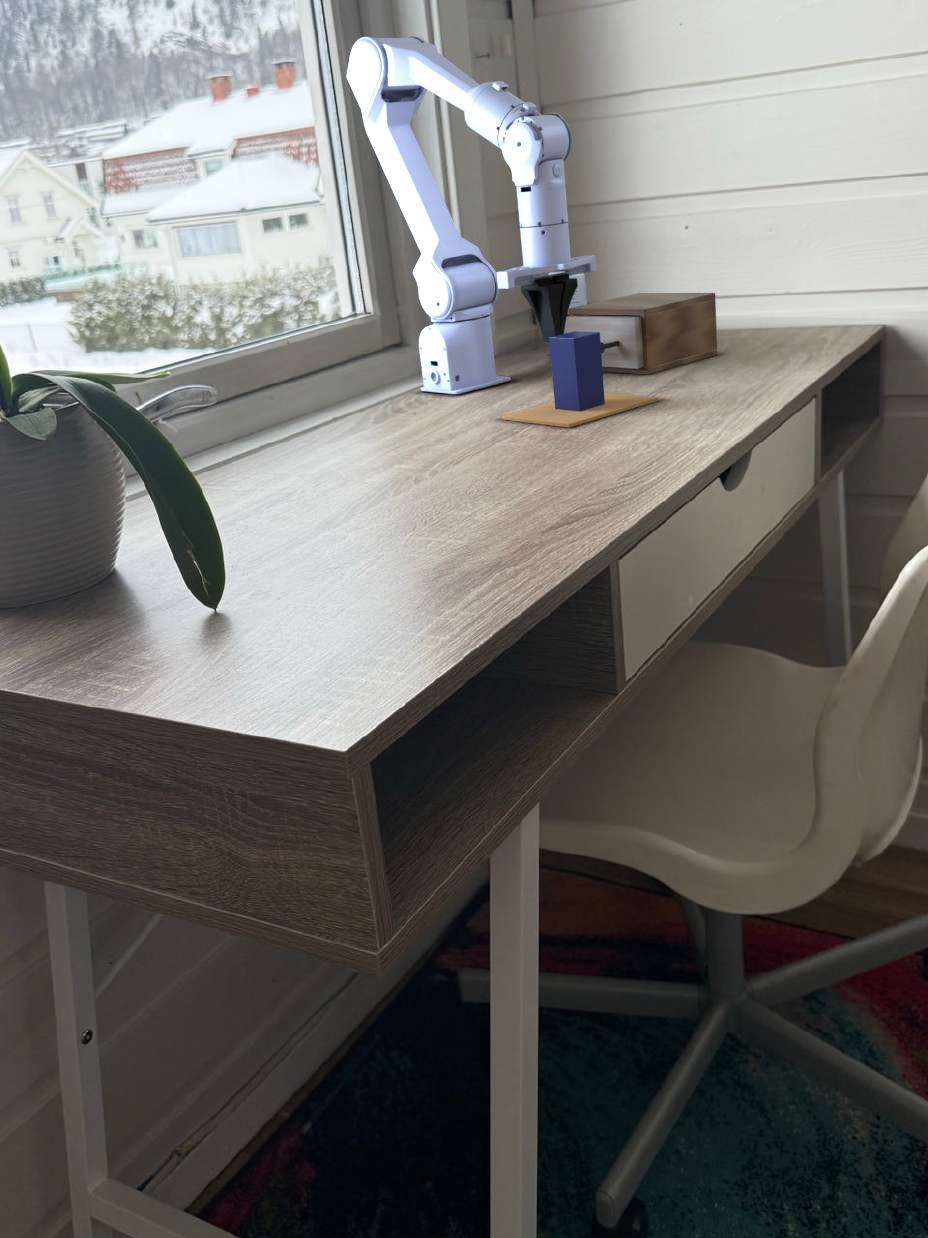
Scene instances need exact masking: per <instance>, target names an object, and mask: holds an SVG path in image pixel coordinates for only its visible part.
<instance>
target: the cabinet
mask: <svg viewBox="0 0 928 1238" xmlns="http://www.w3.org/2000/svg"><path fill="white" fill-rule="evenodd" d="M716 303H717V302H716V292H637V293H633V294H632V293H631V294H628V295H623V296H619V297H614V298H610V299H605V300H601V301H597V302H591V303H587V305H582V306H578V307H573V308H569V314H570V315H569V316H583V315H631V316H640V317H641V324H642V341H643V358H644V367H643V368H639V369H633V368H617V367H602V370H603V372H605V373H606V372H609V373H621V374H623V373H624V374H638V375H651V374H654V373H658V372H661V371H665V370H668V369H673V368H677V367H680V366H682V365H683V366H684V365H687V364H690V363H694V362H698V361H701V360H704V359H708V358H711V357H716V356H718V335H717V334H718V333H717V332H718V330H717V304H716Z"/></svg>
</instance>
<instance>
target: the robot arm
mask: <svg viewBox="0 0 928 1238" xmlns="http://www.w3.org/2000/svg"><path fill="white" fill-rule="evenodd" d="M346 79H347V81H348V83H349V86H350V88H351V90H352V92H353V95H354V97H355V99H356V101H357V103H358V106H359V108H360V110H361V116H362V121H363V126H364V129H365V132H366V135H367V137H368V139H369V143H370V144H371V146H372V149H373V150H374V153H375V155H376V157H377V159H378V162H379V164H380V166H381V168H382V170H383V173H384V175H385V177H386V179H387V181H388V183H389V186H390V188H391V190H392V193H393V194H394V197H395V199H396V201H397V203H398V206H399V208H400V210H401V212H402V214H403V217H404V219H405V221H406V224H407V226H408V227H409V230H410V232H411V234H412V236H413V238H414V242H415V243H416V246H417V248H418V250H419V253H420V256H419V258H418V260H417V262H416V264H415V266H414V268H413V270H412V275H413V277H414V279H415V281H416V284H417V290H418V291H417V292H418V299H419V302H420V305H421V307H422V309H423V310H424V312H425V314H426V315H428V316H429V317H430V322H431V323H433V324H430V325H427V326H426V327H424V328H423V329H422V330H421V331H420V334H419V337H418V351H419V358H420V368H421V374H422V381H423V382H422V383H423V386H421V387H420V391H421V392H429V393H437V394H438V393H440V394H448V395H461V394H464V393H469V392H472V391H476V390H480V389H484V388H487V387H491V386H496V385H499V384H503V383H506V382H511V381H512V379H511V377H510V376H501V375H500V376H499V375H497V371H496V361H495V351H494V341H493V333H492V323H491V315H490V314H492V313H494V307H493V306H494V305H495V304H496V302H497V300H498V299H499V295H500V290H505V289H507V290H510V289H515V288H516V287H520V293H521V294H522V295H523V297H524V298H525V300H526V301H527V303H528V304H529V307H530V308H531V310H532V312H533V314H534V316H535V318H536V321H537V324H538V326H539V329H540V332H541V335H542V339H543V341H544V343H549V337H553V336H557V335H561V334H564V329H565V323H566V318H567V313H568V309H569V306H570V303H571V300H572V297H573V295H574V293H575V291H576V289H577V287H578V282H577V278H569V276H572V275H577V274H582V273H583V274H586V273H588V274H589V273H590V274H591V273H596V272H597V257H596V255H594V254H593V255H581V256H575V257H572V256H571V244H570V243H571V241H570V231H569V215H568V202H567V190H566V175H565V164H564V163H565V162H566V161H567V160H568V158H569V156H570V154H571V151H572V148H573V134H572V130H571V128H570V126H569V123H568V122H567V121H566V120H565V118H563V117H562V116H561V115H560V113H558V112H546V113H544V114H543V113H542V114H541V113H540V111H538V110H537V105H536V104H534V103H533V102H531V101H527V102H525V101H523V100H522V99H520V98H519V97H517V96H516V95H514V94H513V93H511V92H510V91H509V87H510V85H509V84H507V83H506V82H504V81H503V80H499V81H498V80H497V81H485V82H483V83H481V84H480V83H479V82H477V81H475V80H474V78H471V77H470V76H469V75H468V74H467V73H465V72H464V71H463V70H462V69H460V68H459V67H458V66H457V65H455V64H454V63H453V62H451V60H449V59H448V58H446V57H445V56H444V55H442V54H441V53H440V52H438V47H437V45H435V44H432V43H430V42H427V40H425V39H424V38H422V37H421V36H417V35H413V36H408V37H371V36H362V37H360V38H358V39H356V41H355V42H354V43H353V45H352V47H351V50H350V54H349V59H348V65H347V71H346ZM427 91H429V92H431V93H433V94H434V95H436V96H437V97H439V98H441V99H442V100H445V101H446V102H447V103H449V104H451V105H453V106H454V107H456V108H458V109H460V110H461V111H463V112H464V119H465V122H466V125H467V126H468V127H469V128H470V129H471V130H473V131H474V132H475V133H477V134H479V135H480V136H481V137H483V138H484V139H486V140H487V141H488V142H489V143H490V144H493V145H494V146H496V147H497V148H499V149H500V150H501V152H502V156H503V159H504V161H505V163H506V164H507V165H508V167H509V168H510V171H511V179H512V182H513V183H514V186H515V187H516V196H517V197H516V198H517V209H518V220H519V230H520V231H519V232H520V241H521V253H522V265H521V266H516V267H512V268H509V269H505V270H501V271H496V269H495V268H494V267H493V266H492V265H491V264H490V263H489V261H487V260H486V258H485V257H484V255H483V254H482V252H481V250H480V248H479V246H477V245H475V244H474V243H472V242H470V241H469V240H467V239H465V238H463V237H462V235H461V234H460V233H459V230H458V228H457V226H456V224H455V221H454V220H453V217H452V215H451V213H450V211H449V209H448V206H447V205H446V202H445V199H444V198H443V195H442V193H441V191H440V188H439V186H438V184H437V182H436V180H435V178H434V175H433V173H432V171H431V169H430V167H429V164H428V162H427V159H426V158H425V155H424V154H423V151H422V149H421V146H420V145H419V142H418V140H417V137H416V136H415V133H414V131H413V128H412V127H411V121H412V118H413V117H414V116H415V115H417V113H418V111H419V109H420V106H421V104H422V102H423V99H424V97H425V96H426V93H427ZM564 271H565V272H564ZM551 272H563V273H557V274H552V275H549V274H548V273H551ZM542 274H547V275H543V276H542Z"/></svg>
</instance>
